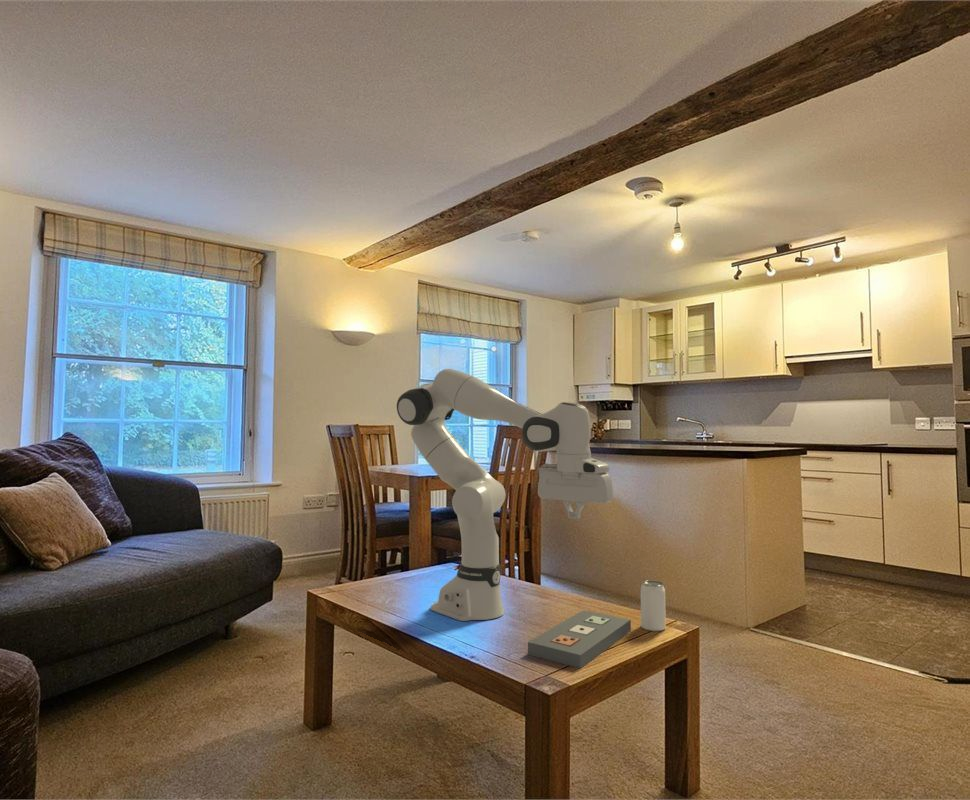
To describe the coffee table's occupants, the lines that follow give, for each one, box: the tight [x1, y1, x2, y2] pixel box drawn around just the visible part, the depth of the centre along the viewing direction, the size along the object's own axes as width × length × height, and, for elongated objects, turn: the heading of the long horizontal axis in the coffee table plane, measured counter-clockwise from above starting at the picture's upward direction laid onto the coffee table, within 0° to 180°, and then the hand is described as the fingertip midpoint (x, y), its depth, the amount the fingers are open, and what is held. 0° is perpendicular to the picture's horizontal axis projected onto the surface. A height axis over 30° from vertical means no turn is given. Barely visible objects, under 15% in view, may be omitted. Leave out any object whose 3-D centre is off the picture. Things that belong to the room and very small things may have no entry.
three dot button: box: [551, 635, 579, 647], centre depth 142 cm, size 5×5×3 cm
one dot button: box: [569, 625, 595, 636], centre depth 150 cm, size 5×5×3 cm
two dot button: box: [584, 616, 610, 626], centre depth 157 cm, size 5×5×3 cm
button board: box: [527, 609, 632, 669], centre depth 150 cm, size 14×30×3 cm, turn 144°
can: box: [640, 580, 667, 632], centre depth 161 cm, size 6×6×12 cm
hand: (574, 518), depth 152 cm, fingers closed
